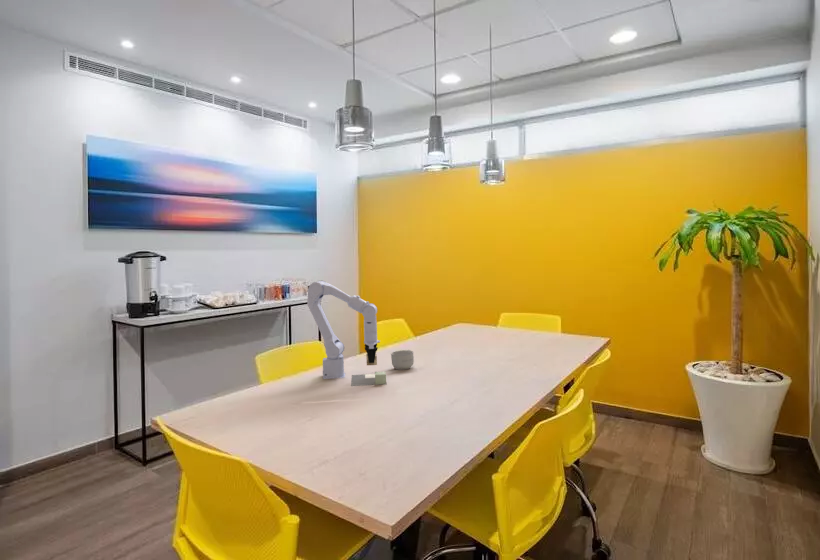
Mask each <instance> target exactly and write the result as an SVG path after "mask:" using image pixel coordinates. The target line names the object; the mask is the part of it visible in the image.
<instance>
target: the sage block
mask: <svg viewBox="0 0 820 560" xmlns="http://www.w3.org/2000/svg"><path fill="white" fill-rule="evenodd" d="M374 374H375V384H383V385H387V384H386V382H387V372H386V371H375V372H374Z"/></svg>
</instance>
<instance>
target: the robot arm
mask: <svg viewBox="0 0 820 560" xmlns="http://www.w3.org/2000/svg"><path fill="white" fill-rule="evenodd" d="M324 296H333V297H335V298H337V299H339V300H341V301H343V302H345V303H346V304H347V306H348V308H351V309H352V310H355V312H358V313H359V314H362V316H363V337H364V340H363V344H364V350H365V352H366V354H367V355H368V360H369V363H374V360H375V354H376V355H377V351H378V343H380V342H381V340H379V339H378V323H377V322H378V321H377V314H378V307H377V306H376V305H375V303H370V301H368V300H367V301H366V300H364V299H362V298H361V296H360V295H349V294H348V293H346V292H344V291H343V290H341V289H340V288H338V287H337V286H335V285H333V284H331V283H329V282H326V281H325V280H318V281H314V282H311V283H310V284H309V286H308V288H307V302H306V303H307V306H308V309H309V311H310V313H311V316H312V317H313V320H314V321H315V323H316V325H317V328H318V330H319V332H320V334H321V336H322V338H323V341H324V342H323V344H324V348H325V354H326V357H323V358H322V379H323V380H329V379H345V378H346V373H345V365H344V364H345V363H344V362H345V361H344V353H343V352H344V351H345V344H344V343H343V342H342V341H341V340H340V339H339V337H338V336H337V335H336V334H335V332H334V330H333V328H332V326H331V324H330V321H329V320H328V318H327V315H326V314H325V311H324V309H323V307H322V304H321V302H322V299H323V297H324Z"/></svg>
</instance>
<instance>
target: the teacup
mask: <svg viewBox="0 0 820 560" xmlns="http://www.w3.org/2000/svg"><path fill="white" fill-rule="evenodd" d="M390 357H391V364H392V366H393V368H395V369H396V370H402V371H403V370H404V371H405V370H410V369H412V366H414V363H415V359H414V358H415V356H414V351H413V350H411V349H405V350H402V349H401V350H395V351H392V352H391V353H390Z"/></svg>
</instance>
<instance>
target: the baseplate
mask: <svg viewBox="0 0 820 560" xmlns="http://www.w3.org/2000/svg"><path fill="white" fill-rule="evenodd" d="M350 379H351V380H350V386H351V387H360V386H361V387H363V386H380V385H382V386H383V385H384V384H375V373H368V374H367V373H366V374H364V373H363V374H351V378H350ZM387 384H388V382H387V381H386V384H385V385H387Z"/></svg>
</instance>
